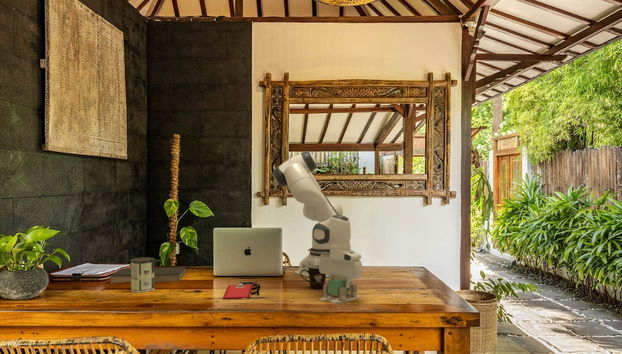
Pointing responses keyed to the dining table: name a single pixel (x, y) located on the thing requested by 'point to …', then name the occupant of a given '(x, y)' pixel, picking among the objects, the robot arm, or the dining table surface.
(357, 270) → the robot arm
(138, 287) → the coffee can
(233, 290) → the red board with handle
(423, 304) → the dining table surface
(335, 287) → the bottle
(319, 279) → the coffee mug
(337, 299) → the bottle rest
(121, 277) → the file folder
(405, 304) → the dining table surface
